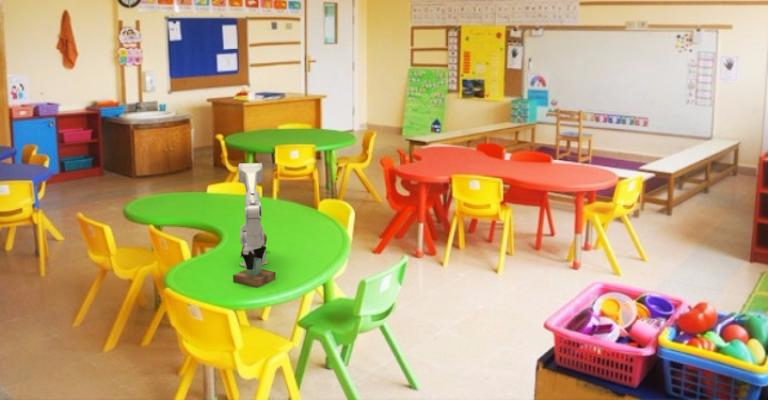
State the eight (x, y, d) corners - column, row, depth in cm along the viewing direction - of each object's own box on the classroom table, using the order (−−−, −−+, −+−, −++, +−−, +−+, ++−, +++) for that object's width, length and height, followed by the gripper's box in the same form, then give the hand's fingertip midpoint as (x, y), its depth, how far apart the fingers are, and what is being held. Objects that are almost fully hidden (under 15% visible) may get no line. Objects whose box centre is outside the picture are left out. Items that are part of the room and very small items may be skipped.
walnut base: (252, 273, 328) (252, 266, 327) (275, 279, 322) (275, 272, 322) (233, 282, 318) (233, 274, 317) (256, 287, 312) (256, 280, 311)
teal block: (251, 271, 322) (251, 256, 321) (261, 272, 321) (261, 258, 319) (246, 274, 318) (245, 260, 317) (256, 275, 317) (255, 261, 315)
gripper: (253, 228, 323) (253, 260, 326) (235, 237, 310) (236, 270, 313) (268, 230, 321) (269, 262, 324) (251, 239, 308) (252, 273, 311)
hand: (254, 266), depth 319 cm, fingers open, 7 cm apart
